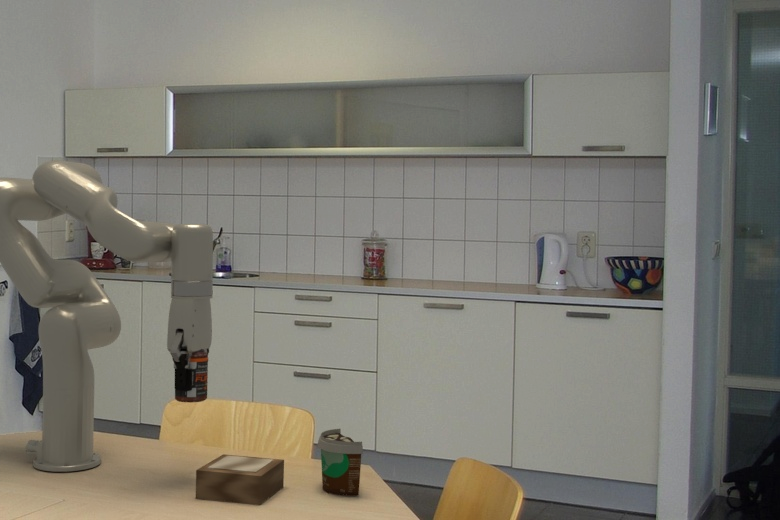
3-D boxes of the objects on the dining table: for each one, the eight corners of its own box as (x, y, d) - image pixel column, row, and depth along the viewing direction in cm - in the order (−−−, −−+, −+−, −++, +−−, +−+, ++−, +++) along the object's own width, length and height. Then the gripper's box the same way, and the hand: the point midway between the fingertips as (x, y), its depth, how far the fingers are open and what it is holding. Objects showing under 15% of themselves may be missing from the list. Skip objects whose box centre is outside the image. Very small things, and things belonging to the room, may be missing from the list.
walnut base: (195, 498, 164) (196, 468, 163) (222, 480, 175) (223, 453, 175) (260, 504, 161) (261, 474, 161) (283, 486, 173) (284, 458, 173)
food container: (307, 482, 176) (308, 429, 176) (337, 479, 178) (339, 427, 178) (329, 500, 165) (330, 444, 164) (361, 497, 167) (363, 442, 167)
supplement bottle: (199, 404, 170) (200, 342, 170) (169, 402, 171) (169, 340, 171) (212, 398, 176) (212, 338, 176) (182, 396, 177) (183, 337, 177)
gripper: (192, 287, 182) (192, 379, 183) (151, 292, 165) (150, 394, 166) (228, 288, 181) (228, 381, 181) (190, 293, 164) (190, 396, 164)
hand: (191, 386), depth 173 cm, fingers closed on supplement bottle, 6 cm apart
